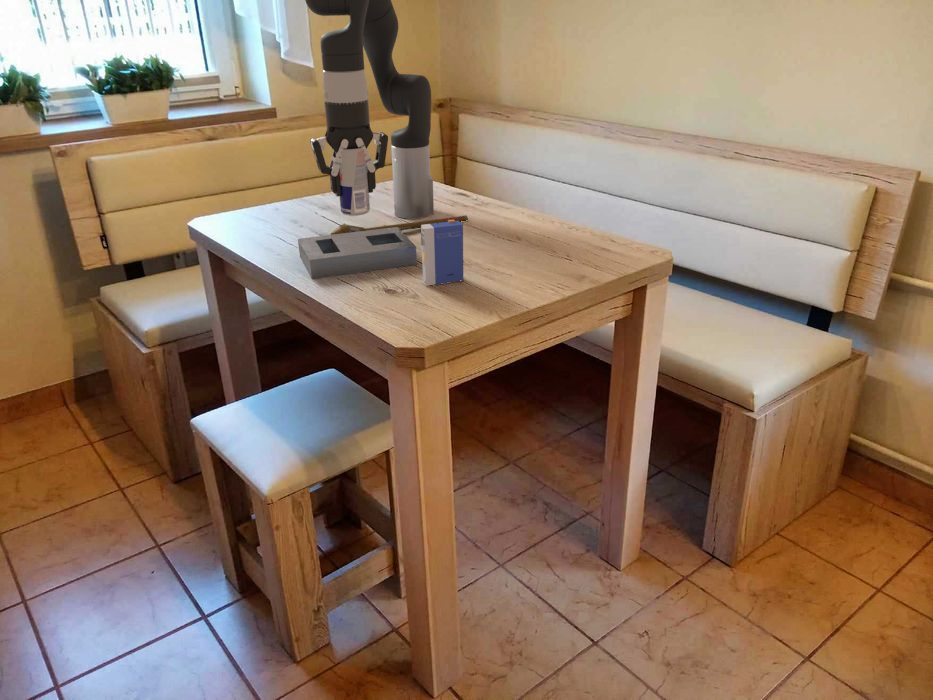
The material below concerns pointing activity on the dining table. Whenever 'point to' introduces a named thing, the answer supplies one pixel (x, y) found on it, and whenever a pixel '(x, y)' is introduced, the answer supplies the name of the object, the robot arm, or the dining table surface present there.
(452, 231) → the walkman
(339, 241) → the socket plate
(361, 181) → the energy drink
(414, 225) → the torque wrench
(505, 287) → the dining table surface
